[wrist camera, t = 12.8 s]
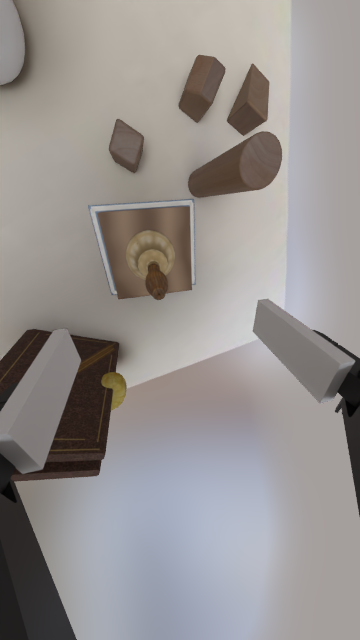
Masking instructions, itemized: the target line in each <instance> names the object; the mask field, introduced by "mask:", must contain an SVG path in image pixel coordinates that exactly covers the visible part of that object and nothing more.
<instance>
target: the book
mask: <svg viewBox="0 0 360 640" xmlns="http://www.w3.org/2000/svg"><path fill="white" fill-rule="evenodd" d="M51 334H52V332H49V331H43V330H37V329H32V330H27V331H26V332H25V333H24V334H23V336H22V337H21V338H20V339H19V340H18V341H17V342H16V344H15V345H14V346H13V347H12V348H11V349H10V350H9V351H8V353H7V354H6V355H5V356H4V357H3V358H2V359H1V361H0V395H1V394H2V392H4V391H5V390H6V389H7V388H8V387H9V386H10V385H12V384H13V383H19V382H20V381H21V379H22V378H23V376H24V375H25V373H26V372H27V370H28V369H29V367H30V366H31V364H32V363H33V361H34V360H35V358H36V357H37V355H38V354H39V352H40V351H41V349H42V348H43V346H44V345H45V343H46V342H47V340H48V338H49V337H50V335H51ZM70 336H71V338H72V341H73V343H74V345H75V347H76V350H77V352H78V354H79V357H80V359H81V362H80V365H79V368H78V371H77V374H76V377H75V379H74V382H73V385H72V388H71V391H70V393H69V396H68V399H67V402H66V405H65V408H64V410H63V413H62V416H61V419H60V422H59V425H58V427H57V430H56V433H55V436H54V439H53V442H52V444H51V447H50V450H49V453H48V456H47V459H46V461H45V464H44V467H43V469H42V470H38V471H34V472H29V473H25V474H22V473H21V472H20V471H18V470H17V469H16V468H15V470H14V472H13V474H12V476H11V479H12V480H13V481H28V480H44V479H57V478H58V479H59V478H72V477H73V478H74V477H89V476H97V475H99V472H100V466H101V460H102V459H104V456H105V452H106V443H107V436H108V428H109V420H110V412H111V410H113V409H115V408H117V407H118V406H119V405H120V404H121V403H122V402H123V400H124V398H125V395H126V382H125V379H124V378H123V376H122V375H120V374H119V373H116V365H117V357H118V349H119V343H118V342H112V341H106V340H100V339H93V338H87V337H81V336H74V335H70Z"/></svg>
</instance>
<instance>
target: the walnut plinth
mask: <svg viewBox="0 0 360 640" xmlns="http://www.w3.org/2000/svg"><path fill="white" fill-rule="evenodd" d="M97 215H98V219H99V223H100V227H101V231H102V235H103V239H104V243H105V247H106V251H107V255H108V259H109V263H110V267H111V271H112V275H113V279H114V283H115V287H116V291H117V295H118V299H125V298H133V297H141V296H149V295H150V294H149V292H148V291H147V289H146V285H145V280H144V279H141V278H139V277H138V276H136V275H135V274H134V273H133V272H132V271H131V270H130V268H129V266H128V264H127V261H126V248H127V245H128V243H129V241H130V240H131V238H132V237H133V236H135V235H136V234H137V233H139V232H142V231H146V230H153V231H157V232H160V233H162V234H163V235H165V236H166V237H167V238H168V239H169V240H170V242H171V243H172V245H173V248H174V251H175V261H174V265H173V267H172V269H171V271H170V272H169V273H168V274H167V275H166V278H167V280H168V290H167V292H166V293H172V292H179V291H187V290H192V270H191V229H190V206H181V207H166V208H151V209H137V210H122V211H108V212H99V213H97Z"/></svg>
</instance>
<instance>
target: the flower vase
mask: <svg viewBox="0 0 360 640" xmlns="http://www.w3.org/2000/svg"><path fill="white" fill-rule="evenodd" d="M24 57H25V41H24V33H23V29H22V25H21V22H20V18H19V14H18V12H17V9H16V7H15V5H14V2H13V0H0V85H3V84H6V83H9V82H12V81H13V80H14V79H15V78H16V77H17V76H18V75H19V73H20V71H21V69H22V67H23V64H24Z"/></svg>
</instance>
